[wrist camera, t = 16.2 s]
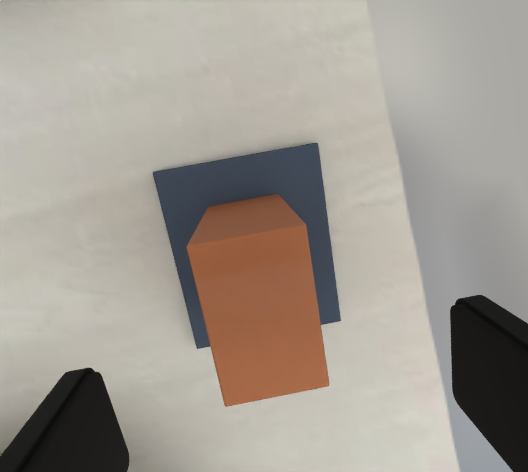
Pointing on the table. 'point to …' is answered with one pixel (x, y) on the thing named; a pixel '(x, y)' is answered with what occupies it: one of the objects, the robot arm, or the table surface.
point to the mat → (242, 188)
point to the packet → (258, 299)
